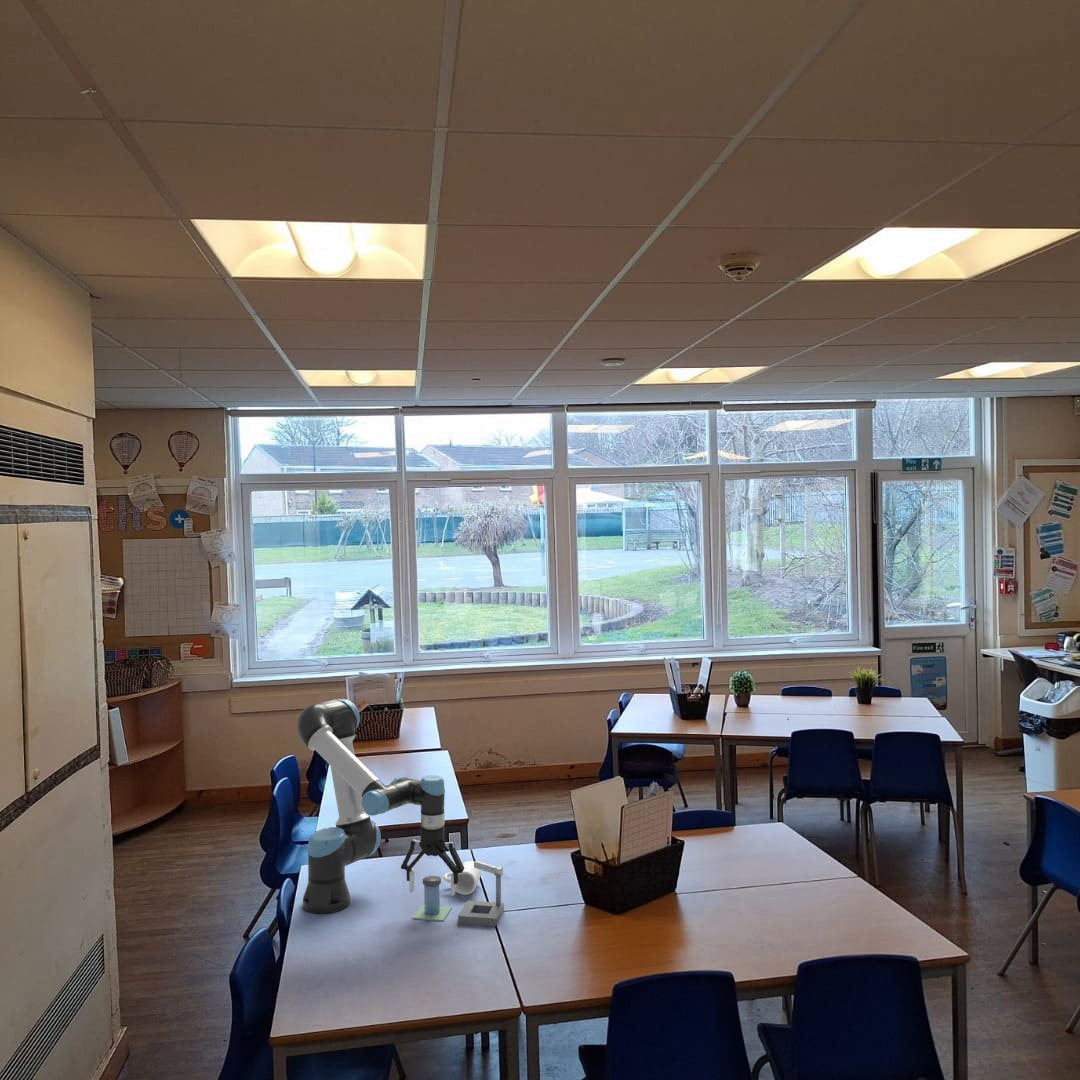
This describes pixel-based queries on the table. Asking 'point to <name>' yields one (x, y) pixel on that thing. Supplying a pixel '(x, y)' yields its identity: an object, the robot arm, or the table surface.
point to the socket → (483, 910)
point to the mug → (466, 878)
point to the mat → (439, 917)
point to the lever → (489, 868)
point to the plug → (431, 895)
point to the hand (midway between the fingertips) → (432, 892)
